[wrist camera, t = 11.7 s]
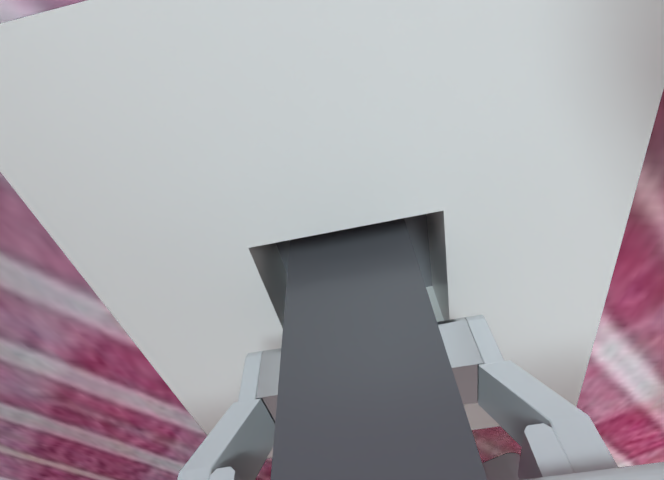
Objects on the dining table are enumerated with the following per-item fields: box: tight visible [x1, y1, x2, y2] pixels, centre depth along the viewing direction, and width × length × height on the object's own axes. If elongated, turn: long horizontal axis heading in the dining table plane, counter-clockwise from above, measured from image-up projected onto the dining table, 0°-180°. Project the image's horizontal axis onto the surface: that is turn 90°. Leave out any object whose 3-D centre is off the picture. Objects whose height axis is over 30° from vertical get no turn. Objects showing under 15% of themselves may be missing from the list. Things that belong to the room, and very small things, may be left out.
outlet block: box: [0, 0, 664, 458], centre depth 16 cm, size 20×17×4 cm
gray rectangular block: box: [271, 218, 487, 480], centre depth 12 cm, size 4×4×9 cm
